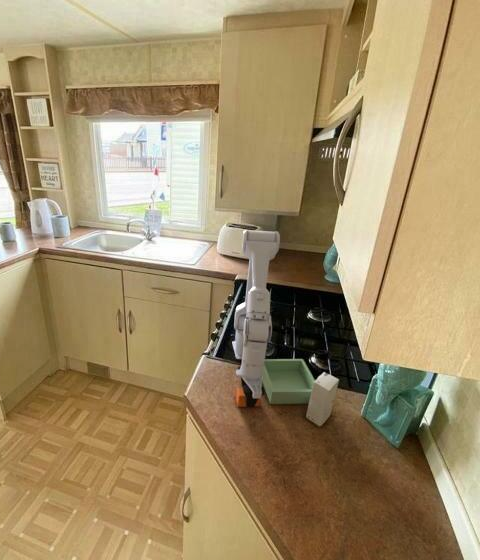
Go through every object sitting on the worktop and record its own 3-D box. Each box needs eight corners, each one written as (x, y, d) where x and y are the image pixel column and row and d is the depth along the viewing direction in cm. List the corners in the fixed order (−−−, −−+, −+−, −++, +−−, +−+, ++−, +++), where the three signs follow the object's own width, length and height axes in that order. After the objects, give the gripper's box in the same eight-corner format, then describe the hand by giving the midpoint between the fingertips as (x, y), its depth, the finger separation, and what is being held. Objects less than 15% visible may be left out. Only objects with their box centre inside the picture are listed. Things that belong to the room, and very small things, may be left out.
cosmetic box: (320, 427, 80) (330, 392, 75) (304, 417, 83) (312, 382, 78) (331, 414, 84) (341, 379, 79) (315, 404, 87) (324, 370, 82)
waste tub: (258, 370, 99) (260, 359, 97) (300, 370, 100) (302, 358, 98) (270, 404, 87) (272, 391, 85) (317, 403, 88) (321, 391, 86)
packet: (235, 398, 89) (237, 387, 87) (256, 398, 89) (258, 387, 87) (237, 406, 86) (239, 395, 84) (259, 406, 86) (261, 395, 85)
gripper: (233, 342, 87) (229, 379, 93) (243, 379, 74) (238, 419, 80) (258, 341, 88) (253, 379, 93) (272, 378, 75) (265, 419, 80)
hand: (248, 398), depth 87 cm, fingers open, 5 cm apart
